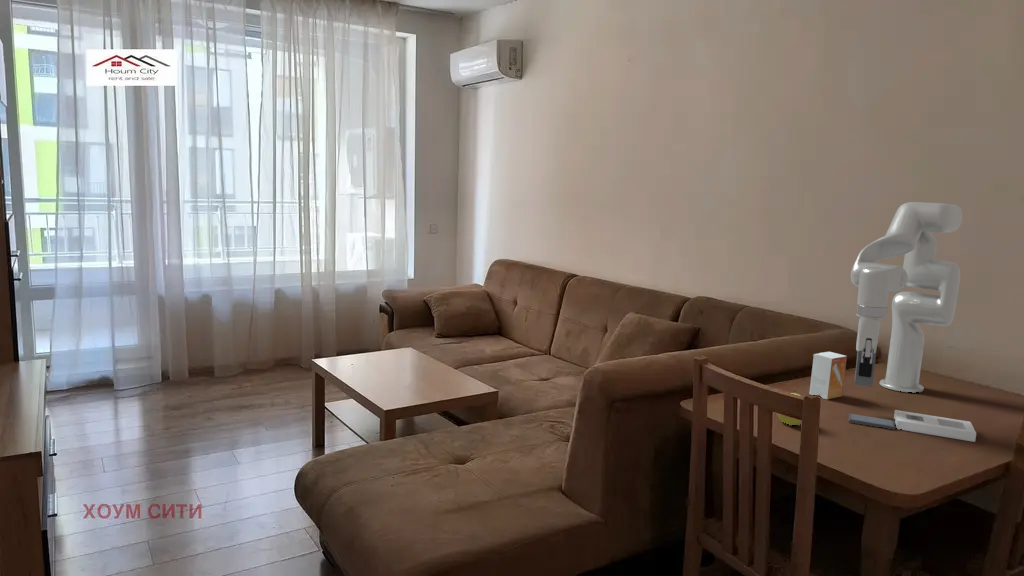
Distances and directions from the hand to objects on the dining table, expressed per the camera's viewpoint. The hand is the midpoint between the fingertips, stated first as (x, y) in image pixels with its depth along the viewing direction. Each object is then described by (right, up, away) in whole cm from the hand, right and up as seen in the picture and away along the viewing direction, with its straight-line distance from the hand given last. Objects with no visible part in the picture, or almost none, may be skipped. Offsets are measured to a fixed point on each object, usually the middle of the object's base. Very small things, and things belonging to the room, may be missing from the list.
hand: (864, 373), depth 199 cm
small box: (-3, -9, +18) cm, 20 cm away
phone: (-2, -13, -7) cm, 15 cm away
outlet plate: (+13, -14, -10) cm, 22 cm away
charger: (0, -3, +1) cm, 3 cm away
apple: (-25, -13, -9) cm, 30 cm away
